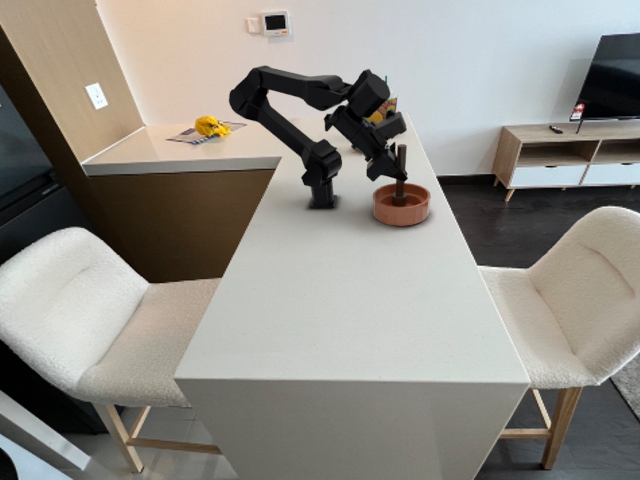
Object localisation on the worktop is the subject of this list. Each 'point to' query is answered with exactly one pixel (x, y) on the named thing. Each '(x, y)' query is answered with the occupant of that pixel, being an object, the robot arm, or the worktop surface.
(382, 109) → the smoothie
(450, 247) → the worktop surface
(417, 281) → the worktop surface
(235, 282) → the worktop surface
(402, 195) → the stick
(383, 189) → the bowl
